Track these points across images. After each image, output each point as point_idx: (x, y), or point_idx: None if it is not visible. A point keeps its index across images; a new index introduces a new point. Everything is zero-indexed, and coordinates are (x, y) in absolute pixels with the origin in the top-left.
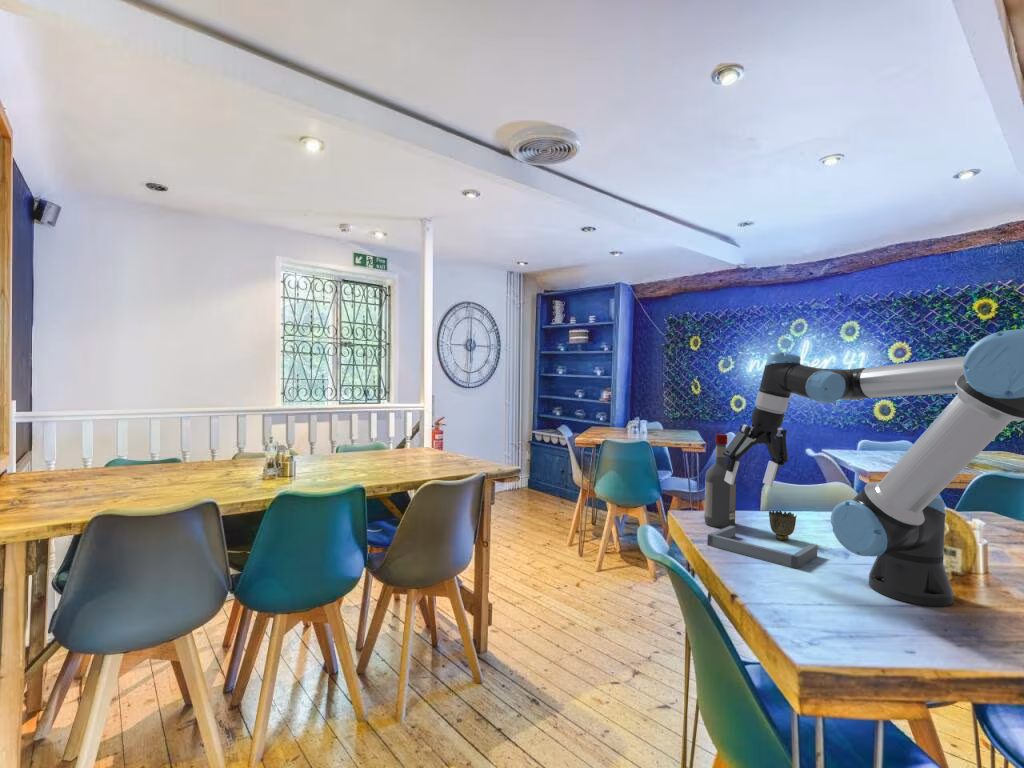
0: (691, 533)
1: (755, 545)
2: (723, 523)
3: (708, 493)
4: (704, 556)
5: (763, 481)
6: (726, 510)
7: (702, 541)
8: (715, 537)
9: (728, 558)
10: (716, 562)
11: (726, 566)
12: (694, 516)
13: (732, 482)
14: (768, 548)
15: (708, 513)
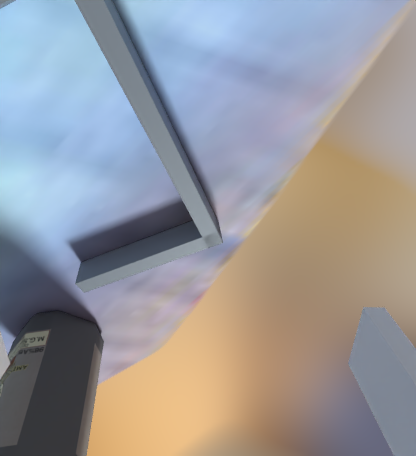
0: (189, 294)
1: (148, 123)
2: (68, 323)
3: (87, 418)
4: (306, 151)
5: (3, 367)
6: (52, 355)
7: None
8: (214, 223)
9: (252, 118)
10: (319, 98)
11: (323, 56)
12: None
13: (385, 319)
14: (122, 78)
15: (96, 358)
